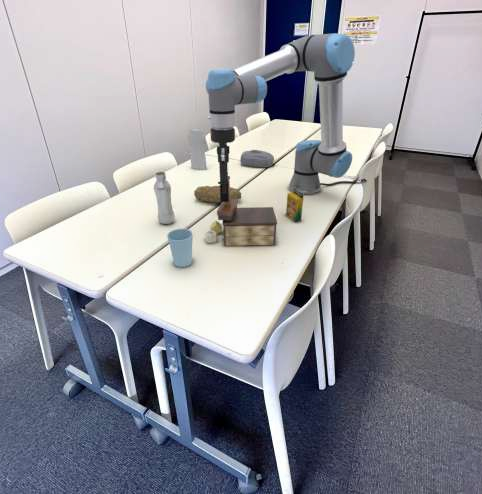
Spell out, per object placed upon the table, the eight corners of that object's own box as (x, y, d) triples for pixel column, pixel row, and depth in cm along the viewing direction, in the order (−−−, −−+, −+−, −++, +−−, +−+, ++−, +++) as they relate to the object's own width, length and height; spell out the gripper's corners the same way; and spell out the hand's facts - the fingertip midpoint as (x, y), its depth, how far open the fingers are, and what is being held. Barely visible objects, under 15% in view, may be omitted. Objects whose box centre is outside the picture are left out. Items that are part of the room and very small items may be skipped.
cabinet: (271, 228, 123) (272, 207, 118) (276, 246, 111) (277, 223, 107) (223, 229, 123) (223, 207, 118) (223, 247, 111) (222, 224, 106)
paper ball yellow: (215, 219, 119) (209, 225, 120) (215, 224, 116) (209, 230, 117) (222, 225, 121) (216, 230, 122) (222, 230, 118) (217, 235, 119)
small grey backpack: (238, 166, 190) (270, 170, 184) (237, 152, 185) (271, 155, 179) (246, 159, 202) (277, 162, 196) (246, 146, 197) (277, 148, 192)
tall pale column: (189, 168, 187) (185, 129, 176) (192, 166, 190) (189, 127, 179) (205, 170, 184) (202, 130, 172) (208, 168, 187) (206, 129, 175)
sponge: (193, 204, 145) (229, 204, 135) (190, 187, 143) (228, 186, 133) (210, 200, 156) (245, 199, 146) (208, 183, 154) (244, 182, 144)
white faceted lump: (204, 231, 114) (205, 239, 116) (207, 236, 111) (207, 244, 113) (214, 229, 115) (214, 237, 117) (217, 234, 113) (217, 242, 114)
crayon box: (285, 215, 133) (287, 188, 127) (291, 213, 134) (294, 187, 128) (294, 222, 127) (297, 195, 121) (301, 221, 128) (304, 193, 122)
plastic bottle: (161, 227, 124) (154, 177, 114) (156, 220, 129) (149, 172, 119) (177, 223, 127) (171, 174, 116) (172, 217, 132) (166, 169, 121)
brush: (237, 207, 116) (236, 171, 109) (232, 220, 107) (229, 182, 100) (224, 206, 117) (221, 171, 110) (217, 220, 108) (214, 182, 101)
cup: (166, 261, 104) (162, 233, 98) (186, 253, 108) (183, 226, 102) (178, 272, 99) (175, 243, 93) (199, 263, 103) (197, 235, 98)
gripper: (211, 123, 104) (214, 191, 116) (208, 133, 91) (212, 209, 103) (234, 122, 104) (235, 191, 116) (235, 133, 91) (236, 208, 103)
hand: (224, 199), depth 109 cm, fingers closed on brush, 2 cm apart
